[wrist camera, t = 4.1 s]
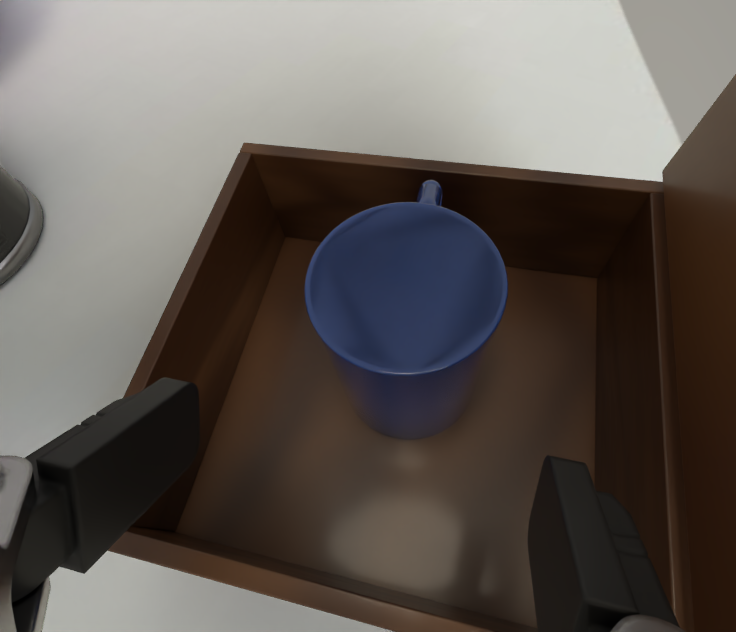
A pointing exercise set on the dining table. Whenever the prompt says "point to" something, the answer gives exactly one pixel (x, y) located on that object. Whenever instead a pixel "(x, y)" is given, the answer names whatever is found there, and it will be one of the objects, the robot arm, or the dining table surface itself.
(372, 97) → the dining table surface
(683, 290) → the chest lid
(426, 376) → the blue coffee mug
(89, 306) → the dining table surface
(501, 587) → the chest
